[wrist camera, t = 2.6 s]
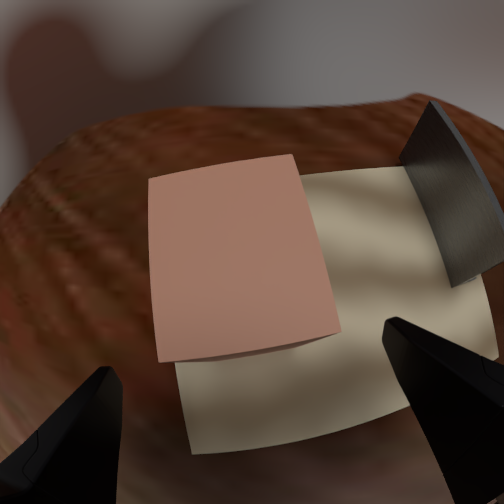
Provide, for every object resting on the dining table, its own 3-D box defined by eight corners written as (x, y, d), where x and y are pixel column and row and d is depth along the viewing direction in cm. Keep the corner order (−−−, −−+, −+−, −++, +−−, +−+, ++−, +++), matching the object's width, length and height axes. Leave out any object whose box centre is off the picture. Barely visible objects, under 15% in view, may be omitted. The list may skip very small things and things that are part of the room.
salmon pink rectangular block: (296, 347, 17) (341, 331, 7) (214, 361, 16) (158, 362, 7) (277, 256, 19) (292, 154, 9) (201, 268, 19) (148, 178, 9)
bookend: (473, 280, 18) (531, 247, 11) (451, 288, 17) (512, 255, 11) (421, 156, 22) (454, 104, 15) (398, 157, 22) (429, 100, 15)
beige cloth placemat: (491, 357, 16) (498, 356, 15) (195, 450, 15) (192, 454, 14) (430, 171, 22) (434, 164, 22) (165, 205, 22) (161, 198, 21)
